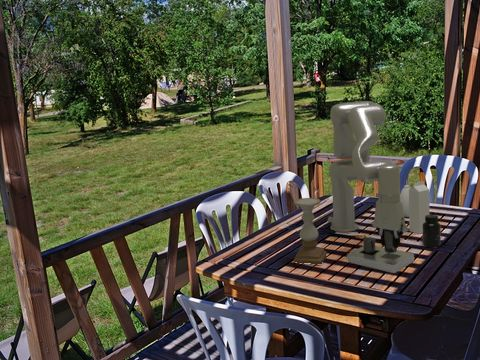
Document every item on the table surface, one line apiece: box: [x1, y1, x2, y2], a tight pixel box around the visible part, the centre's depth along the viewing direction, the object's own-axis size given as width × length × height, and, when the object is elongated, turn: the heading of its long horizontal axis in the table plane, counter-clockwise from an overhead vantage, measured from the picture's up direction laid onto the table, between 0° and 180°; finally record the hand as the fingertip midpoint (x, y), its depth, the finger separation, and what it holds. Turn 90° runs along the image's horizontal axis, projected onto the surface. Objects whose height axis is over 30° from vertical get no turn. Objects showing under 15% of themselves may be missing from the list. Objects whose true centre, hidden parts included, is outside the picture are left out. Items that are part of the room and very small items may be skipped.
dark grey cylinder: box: [383, 229, 398, 253], centre depth 192 cm, size 4×4×8 cm
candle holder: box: [293, 197, 328, 265], centre depth 203 cm, size 11×11×24 cm
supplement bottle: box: [422, 214, 442, 248], centre depth 209 cm, size 7×7×12 cm
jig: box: [346, 237, 415, 274], centre depth 197 cm, size 20×14×8 cm
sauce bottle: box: [400, 180, 411, 218], centre depth 248 cm, size 8×8×18 cm
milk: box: [408, 180, 430, 235], centre depth 226 cm, size 6×6×22 cm
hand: (390, 245), depth 193 cm, fingers closed on dark grey cylinder, 4 cm apart
